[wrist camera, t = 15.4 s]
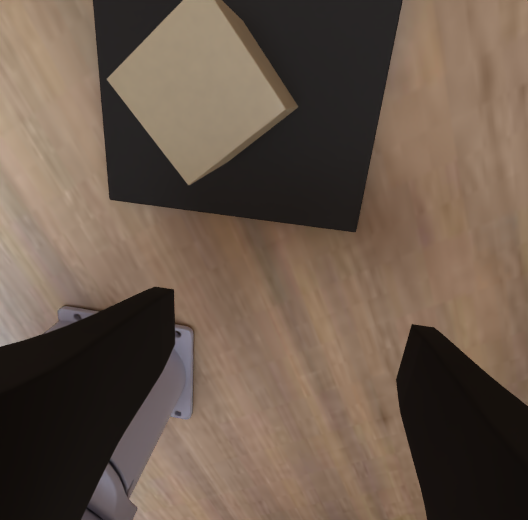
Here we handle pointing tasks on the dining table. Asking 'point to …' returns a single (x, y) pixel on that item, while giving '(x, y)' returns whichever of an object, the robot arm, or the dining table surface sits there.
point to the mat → (279, 136)
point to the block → (202, 87)
